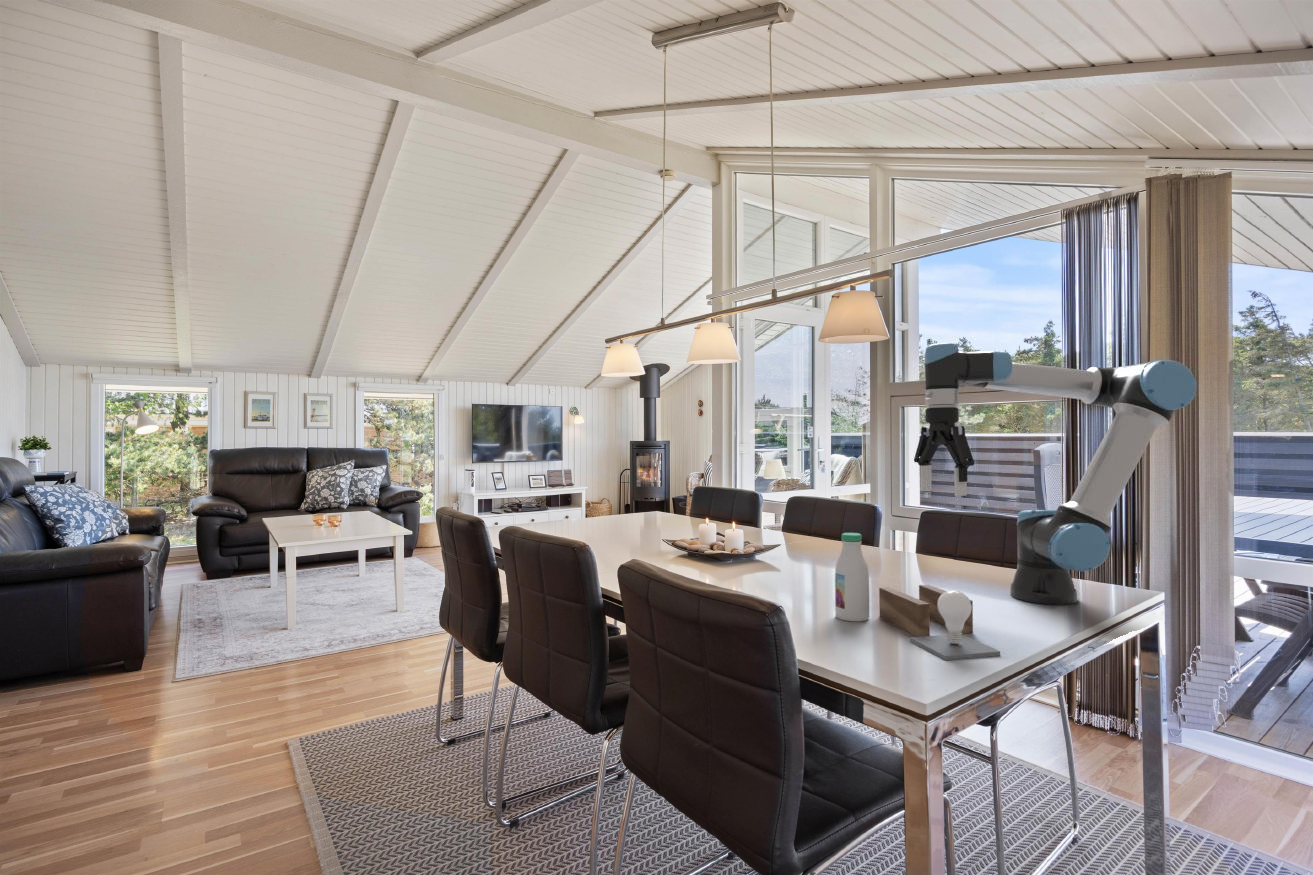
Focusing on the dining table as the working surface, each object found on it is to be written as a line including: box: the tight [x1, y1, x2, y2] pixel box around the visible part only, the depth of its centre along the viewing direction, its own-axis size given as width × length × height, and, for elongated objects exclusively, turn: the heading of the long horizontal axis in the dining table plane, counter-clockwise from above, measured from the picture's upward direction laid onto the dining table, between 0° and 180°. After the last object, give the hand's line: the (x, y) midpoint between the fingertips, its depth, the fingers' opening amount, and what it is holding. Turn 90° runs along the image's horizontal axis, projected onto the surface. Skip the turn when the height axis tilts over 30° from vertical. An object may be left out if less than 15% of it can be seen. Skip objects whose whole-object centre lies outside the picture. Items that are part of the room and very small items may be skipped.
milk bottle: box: [834, 532, 870, 622], centre depth 157 cm, size 8×8×20 cm
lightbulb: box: [937, 589, 972, 645], centre depth 134 cm, size 6×6×11 cm
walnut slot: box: [878, 584, 974, 637], centre depth 151 cm, size 13×16×7 cm
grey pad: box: [909, 633, 1001, 661], centre depth 134 cm, size 12×12×1 cm
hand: (942, 493), depth 163 cm, fingers open, 13 cm apart
